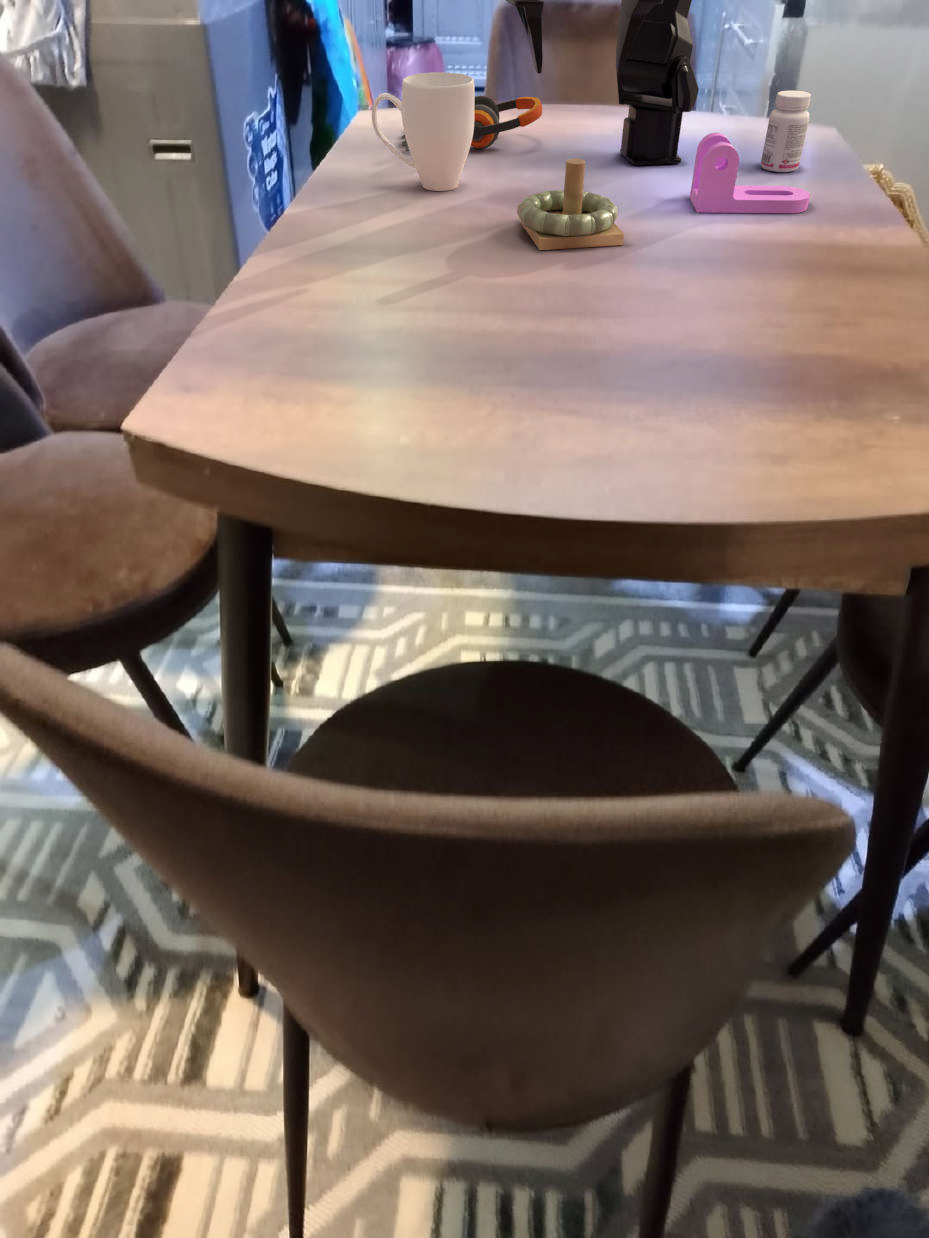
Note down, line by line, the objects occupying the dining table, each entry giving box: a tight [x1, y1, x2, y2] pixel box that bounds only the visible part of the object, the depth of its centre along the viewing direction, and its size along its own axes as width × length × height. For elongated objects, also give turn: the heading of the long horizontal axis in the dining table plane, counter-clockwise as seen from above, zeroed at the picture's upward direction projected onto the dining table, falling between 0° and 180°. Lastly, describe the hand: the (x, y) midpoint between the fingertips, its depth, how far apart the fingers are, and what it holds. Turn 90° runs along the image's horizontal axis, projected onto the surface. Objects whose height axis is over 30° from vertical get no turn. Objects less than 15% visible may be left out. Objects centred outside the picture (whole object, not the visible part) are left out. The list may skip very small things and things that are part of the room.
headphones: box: [401, 94, 543, 152], centre depth 125 cm, size 17×5×20 cm
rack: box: [520, 158, 625, 251], centre depth 95 cm, size 9×9×7 cm
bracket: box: [689, 131, 811, 214], centre depth 103 cm, size 13×6×7 cm, turn 88°
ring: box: [516, 189, 619, 236], centre depth 96 cm, size 10×10×2 cm
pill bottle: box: [760, 90, 812, 173], centre depth 114 cm, size 5×5×8 cm
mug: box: [371, 71, 476, 192], centre depth 107 cm, size 12×8×11 cm
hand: (578, 71), depth 101 cm, fingers open, 9 cm apart
